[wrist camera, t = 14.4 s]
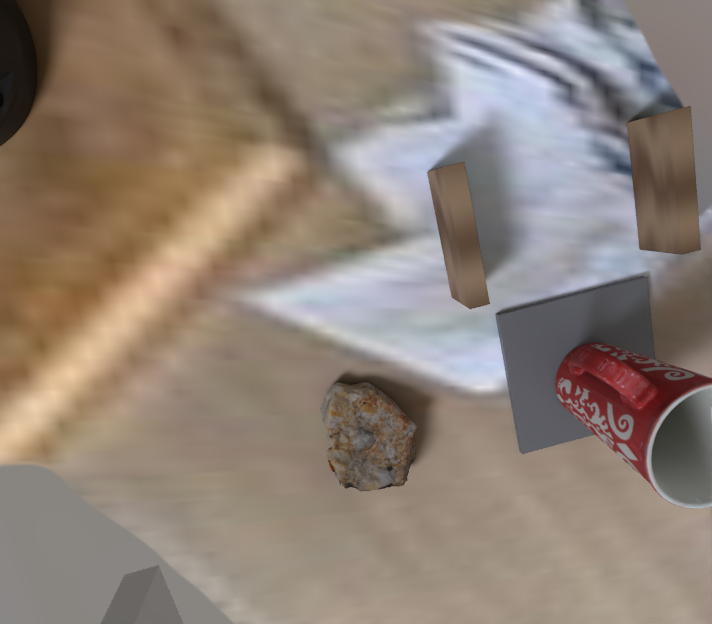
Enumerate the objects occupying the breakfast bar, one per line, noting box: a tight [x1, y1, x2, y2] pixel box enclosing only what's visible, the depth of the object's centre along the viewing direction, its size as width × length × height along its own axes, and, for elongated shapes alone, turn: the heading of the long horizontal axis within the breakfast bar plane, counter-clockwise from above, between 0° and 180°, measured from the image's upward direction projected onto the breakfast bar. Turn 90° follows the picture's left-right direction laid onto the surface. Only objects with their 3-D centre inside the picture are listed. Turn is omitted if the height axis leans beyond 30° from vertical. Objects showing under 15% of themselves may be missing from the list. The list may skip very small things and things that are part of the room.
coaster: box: [496, 276, 655, 454], centre depth 44 cm, size 14×14×1 cm
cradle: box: [427, 106, 701, 309], centre depth 39 cm, size 11×19×5 cm, turn 104°
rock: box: [321, 382, 417, 491], centre depth 42 cm, size 9×6×10 cm
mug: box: [555, 342, 712, 509], centre depth 37 cm, size 13×9×14 cm
